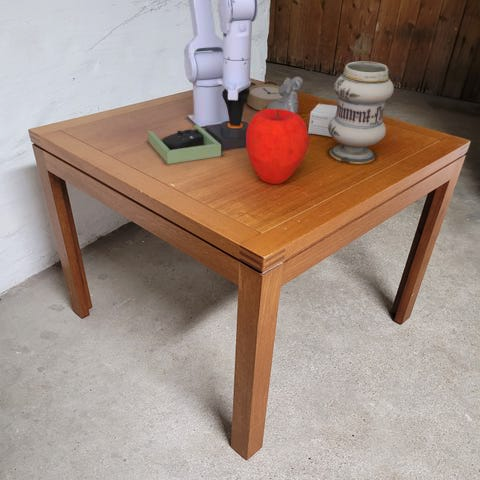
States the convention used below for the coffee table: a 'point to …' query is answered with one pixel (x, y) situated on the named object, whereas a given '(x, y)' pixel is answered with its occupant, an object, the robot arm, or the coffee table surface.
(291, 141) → the apple
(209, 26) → the robot arm
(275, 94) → the alarm clock
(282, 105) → the figurine
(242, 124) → the button
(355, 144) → the apothecary jar
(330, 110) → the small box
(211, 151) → the dock
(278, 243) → the coffee table surface
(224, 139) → the push button box
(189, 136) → the game controller
